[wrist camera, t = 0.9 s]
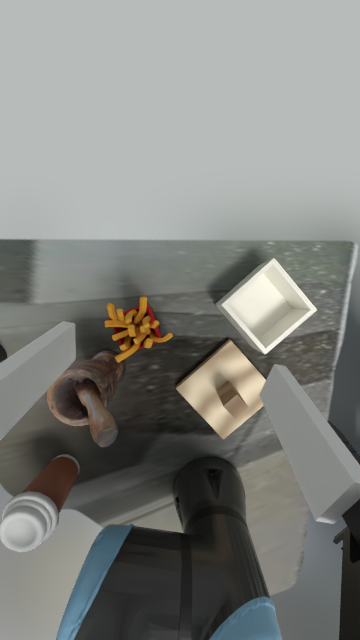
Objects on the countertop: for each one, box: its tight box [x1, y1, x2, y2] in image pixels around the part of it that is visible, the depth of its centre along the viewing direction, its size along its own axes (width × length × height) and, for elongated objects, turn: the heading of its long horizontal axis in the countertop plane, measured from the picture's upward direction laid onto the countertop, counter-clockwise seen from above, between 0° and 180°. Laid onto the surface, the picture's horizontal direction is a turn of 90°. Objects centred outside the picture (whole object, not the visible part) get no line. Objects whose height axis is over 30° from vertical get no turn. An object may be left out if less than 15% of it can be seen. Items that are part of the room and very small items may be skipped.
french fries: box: [104, 296, 173, 363], centre depth 32 cm, size 9×8×15 cm
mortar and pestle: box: [47, 351, 125, 447], centre depth 30 cm, size 12×9×20 cm
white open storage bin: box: [215, 258, 317, 354], centre depth 36 cm, size 12×12×6 cm
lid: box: [176, 339, 266, 439], centre depth 37 cm, size 15×15×8 cm
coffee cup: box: [0, 454, 80, 552], centre depth 36 cm, size 9×9×12 cm
